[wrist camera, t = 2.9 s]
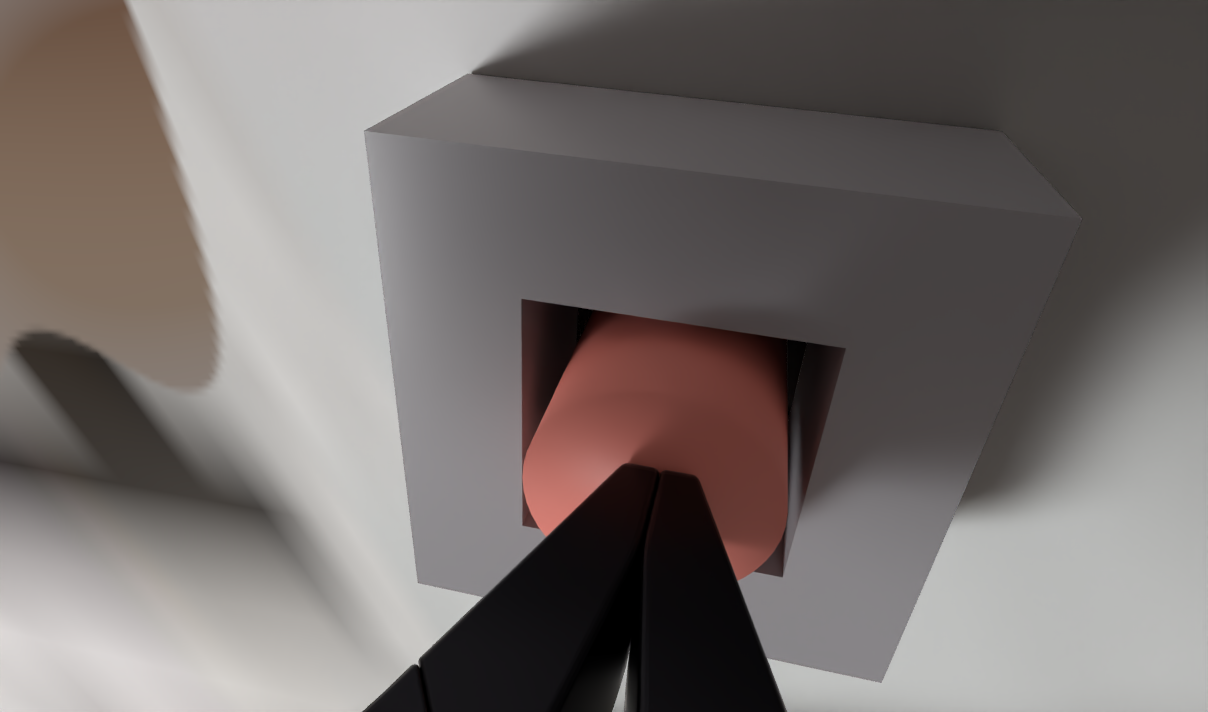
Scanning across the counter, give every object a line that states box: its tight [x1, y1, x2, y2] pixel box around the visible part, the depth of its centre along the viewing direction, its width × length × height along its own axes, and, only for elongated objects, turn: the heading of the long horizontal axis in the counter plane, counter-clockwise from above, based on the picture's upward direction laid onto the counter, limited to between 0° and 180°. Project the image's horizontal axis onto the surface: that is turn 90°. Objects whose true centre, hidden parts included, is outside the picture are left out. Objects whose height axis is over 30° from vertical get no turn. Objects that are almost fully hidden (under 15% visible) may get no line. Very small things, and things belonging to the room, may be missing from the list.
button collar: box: [364, 74, 1082, 683], centre depth 10 cm, size 7×7×3 cm
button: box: [522, 310, 788, 581], centre depth 10 cm, size 3×3×4 cm
